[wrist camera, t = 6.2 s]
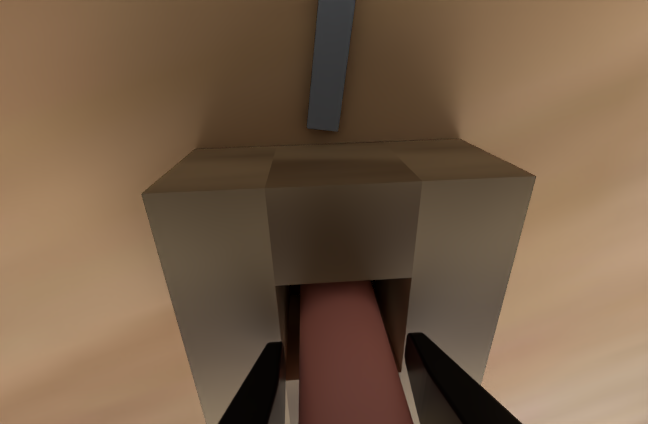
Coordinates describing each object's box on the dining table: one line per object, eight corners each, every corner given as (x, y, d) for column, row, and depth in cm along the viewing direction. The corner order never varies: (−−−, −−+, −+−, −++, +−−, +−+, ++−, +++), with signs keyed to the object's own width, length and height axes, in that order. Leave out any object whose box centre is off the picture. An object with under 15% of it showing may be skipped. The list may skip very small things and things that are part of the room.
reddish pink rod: (359, 275, 14) (442, 594, 5) (302, 278, 14) (300, 607, 5) (361, 224, 13) (465, 525, 4) (299, 227, 13) (291, 538, 4)
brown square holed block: (430, 333, 15) (471, 420, 11) (233, 346, 15) (211, 441, 11) (460, 138, 11) (536, 176, 8) (195, 149, 11) (141, 193, 7)
